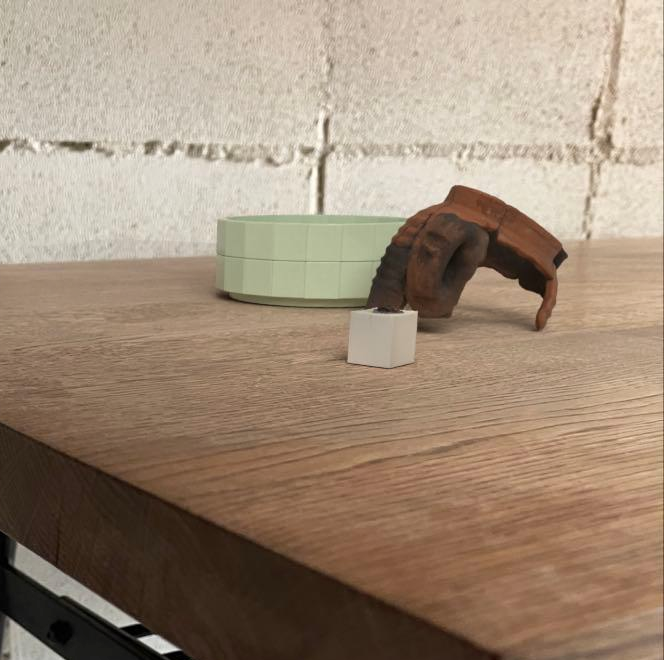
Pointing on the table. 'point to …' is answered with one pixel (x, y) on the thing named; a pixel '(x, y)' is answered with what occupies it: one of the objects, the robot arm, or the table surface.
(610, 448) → the table surface
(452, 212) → the ram-horned helmet
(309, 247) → the bowl
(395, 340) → the white cube
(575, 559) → the table surface
